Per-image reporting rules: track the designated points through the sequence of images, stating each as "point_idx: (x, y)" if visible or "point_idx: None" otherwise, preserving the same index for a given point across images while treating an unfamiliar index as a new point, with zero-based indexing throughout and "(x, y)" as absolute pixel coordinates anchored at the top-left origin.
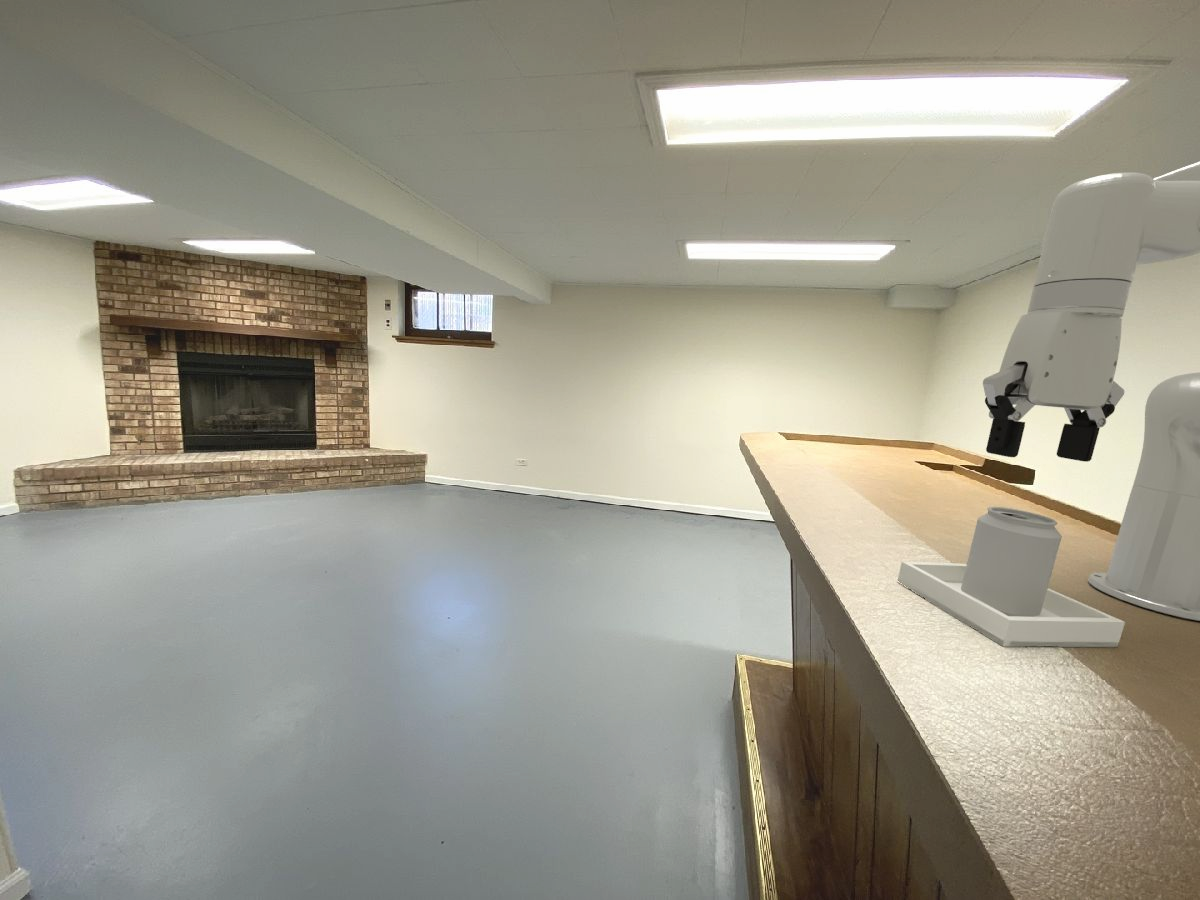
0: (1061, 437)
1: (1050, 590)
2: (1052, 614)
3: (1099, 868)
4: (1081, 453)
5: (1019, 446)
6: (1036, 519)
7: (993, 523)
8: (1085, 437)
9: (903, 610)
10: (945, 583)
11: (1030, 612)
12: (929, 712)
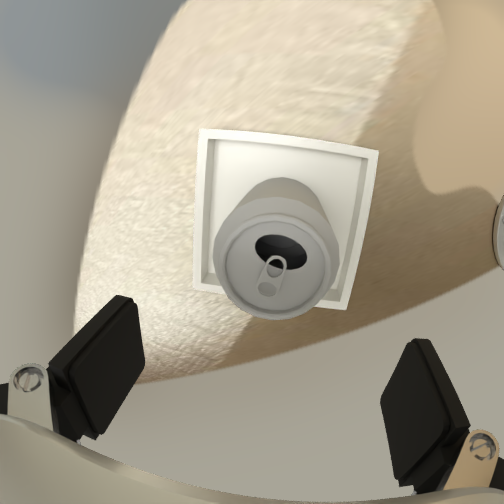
0: (430, 387)
1: (358, 237)
2: (341, 242)
3: None
4: (388, 405)
5: (132, 384)
6: (313, 274)
7: (215, 254)
8: (397, 446)
9: (152, 202)
10: (199, 204)
11: (274, 260)
12: (83, 314)
